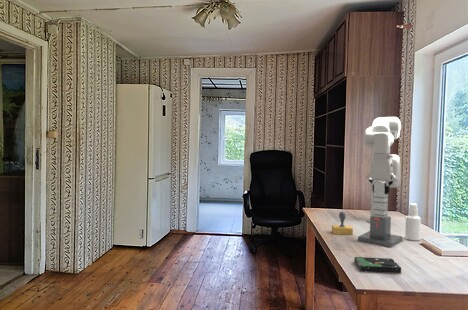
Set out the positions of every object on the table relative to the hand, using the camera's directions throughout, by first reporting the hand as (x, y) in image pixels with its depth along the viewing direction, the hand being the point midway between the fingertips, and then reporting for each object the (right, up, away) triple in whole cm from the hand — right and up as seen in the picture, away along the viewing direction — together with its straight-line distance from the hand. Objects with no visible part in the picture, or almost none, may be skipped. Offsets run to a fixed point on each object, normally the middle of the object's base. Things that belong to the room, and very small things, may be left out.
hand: (380, 193), depth 164 cm
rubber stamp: (-15, -24, +14) cm, 31 cm away
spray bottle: (+18, -24, +4) cm, 30 cm away
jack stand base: (0, -24, +1) cm, 24 cm away
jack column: (0, -17, 0) cm, 17 cm away
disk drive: (-18, -26, -36) cm, 47 cm away
